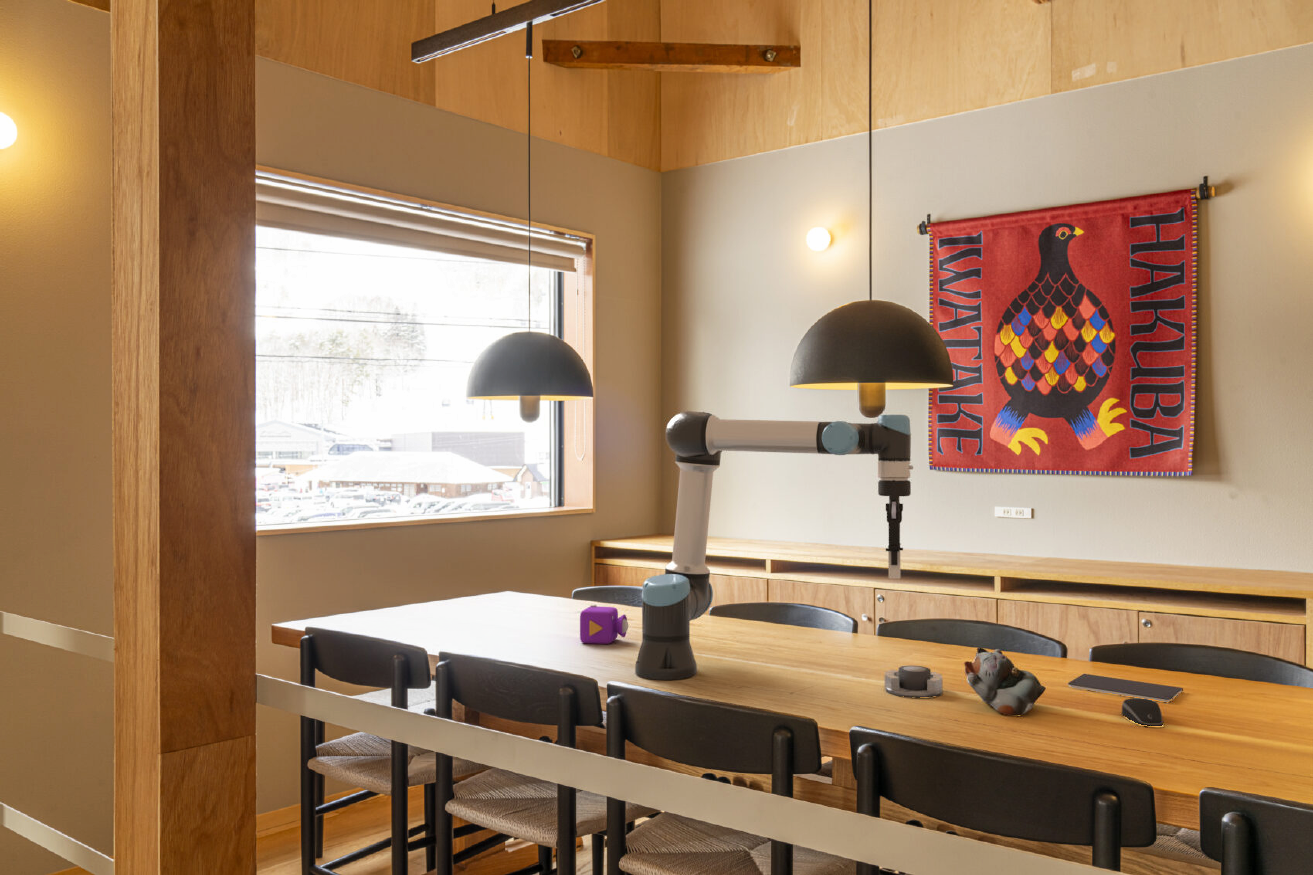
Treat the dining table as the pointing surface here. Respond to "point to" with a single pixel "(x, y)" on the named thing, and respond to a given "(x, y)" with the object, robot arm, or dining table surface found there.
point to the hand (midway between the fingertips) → (894, 578)
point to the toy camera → (601, 625)
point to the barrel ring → (932, 690)
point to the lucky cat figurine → (1002, 683)
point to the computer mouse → (1142, 711)
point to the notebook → (1125, 687)
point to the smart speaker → (914, 677)
